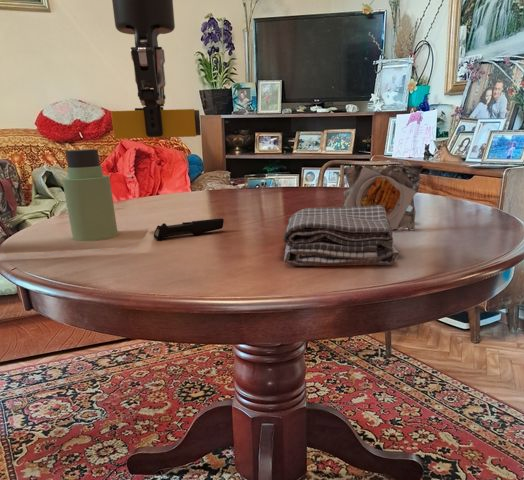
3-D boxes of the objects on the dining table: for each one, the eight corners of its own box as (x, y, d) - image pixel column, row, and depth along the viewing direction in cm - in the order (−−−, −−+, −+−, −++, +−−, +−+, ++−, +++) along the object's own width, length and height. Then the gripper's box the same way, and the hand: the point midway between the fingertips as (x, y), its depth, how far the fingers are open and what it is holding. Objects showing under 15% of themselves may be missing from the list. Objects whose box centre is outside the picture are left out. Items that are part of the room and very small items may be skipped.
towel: (288, 247, 96) (288, 205, 93) (387, 247, 94) (391, 203, 91) (282, 269, 82) (282, 219, 79) (398, 268, 80) (402, 218, 77)
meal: (344, 234, 105) (346, 167, 100) (341, 230, 109) (343, 166, 104) (417, 232, 105) (423, 165, 100) (411, 228, 109) (417, 163, 104)
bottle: (69, 248, 102) (50, 152, 94) (79, 239, 110) (64, 149, 103) (114, 246, 102) (100, 150, 95) (122, 237, 111) (109, 148, 103)
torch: (114, 138, 69) (110, 108, 67) (118, 138, 72) (115, 109, 71) (200, 136, 70) (198, 106, 68) (201, 135, 73) (199, 107, 71)
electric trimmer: (227, 233, 112) (226, 218, 110) (158, 241, 105) (156, 225, 104) (220, 230, 115) (219, 216, 114) (153, 238, 109) (151, 223, 107)
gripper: (120, 0, 70) (136, 136, 77) (99, -28, 57) (120, 138, 64) (175, -1, 70) (186, 134, 78) (166, -29, 58) (180, 136, 65)
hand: (156, 135), depth 71 cm, fingers closed on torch, 3 cm apart
